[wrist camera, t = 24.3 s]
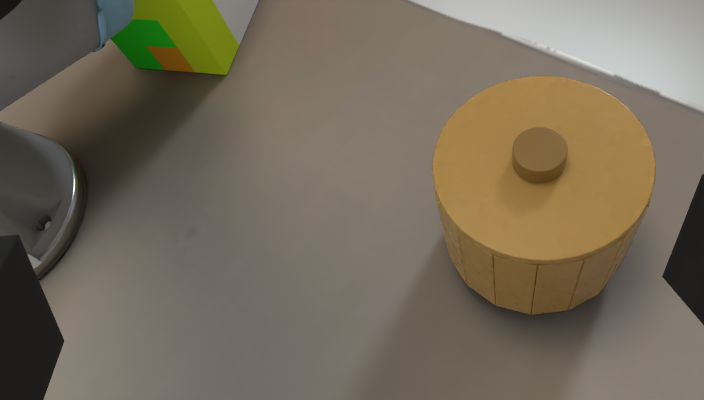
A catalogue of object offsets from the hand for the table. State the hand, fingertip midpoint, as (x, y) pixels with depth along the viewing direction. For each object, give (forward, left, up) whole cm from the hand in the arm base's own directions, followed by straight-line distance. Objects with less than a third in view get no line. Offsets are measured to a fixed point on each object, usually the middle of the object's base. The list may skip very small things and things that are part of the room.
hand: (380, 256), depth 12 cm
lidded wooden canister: (-8, +10, -25) cm, 28 cm away
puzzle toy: (-42, -4, -27) cm, 50 cm away
